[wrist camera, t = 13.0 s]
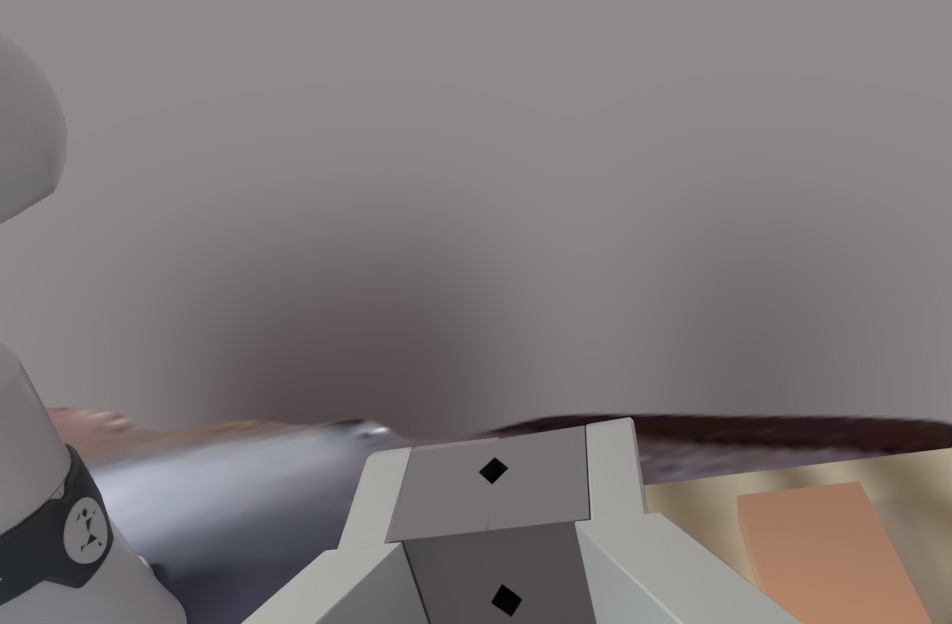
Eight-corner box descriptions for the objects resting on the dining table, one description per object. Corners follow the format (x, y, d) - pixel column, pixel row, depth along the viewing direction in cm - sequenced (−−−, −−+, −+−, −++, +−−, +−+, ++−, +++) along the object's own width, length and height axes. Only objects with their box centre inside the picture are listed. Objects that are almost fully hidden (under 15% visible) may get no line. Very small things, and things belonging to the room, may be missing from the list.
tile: (797, 699, 37) (736, 495, 50) (800, 740, 39) (740, 531, 51) (964, 686, 36) (859, 481, 49) (962, 729, 37) (860, 518, 50)
